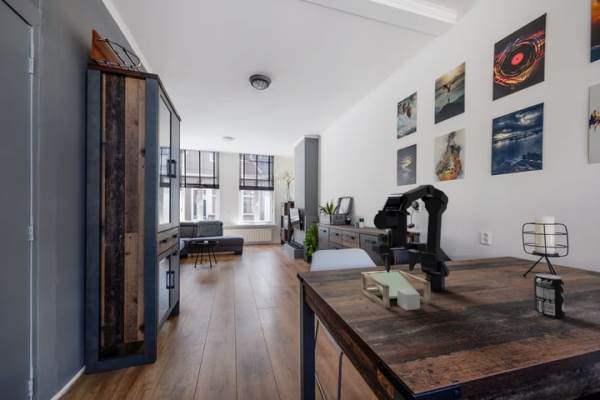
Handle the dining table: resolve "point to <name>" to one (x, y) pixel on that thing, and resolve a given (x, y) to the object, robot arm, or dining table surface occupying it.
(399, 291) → the plain light gray cube
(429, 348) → the dining table surface
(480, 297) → the dining table surface
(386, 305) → the trapdoor frame
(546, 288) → the beverage can
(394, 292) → the trapdoor
